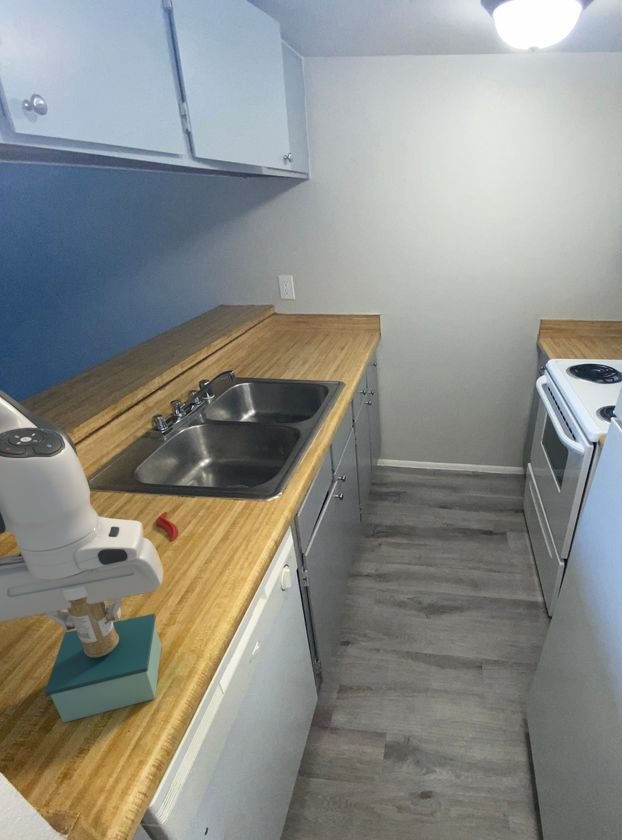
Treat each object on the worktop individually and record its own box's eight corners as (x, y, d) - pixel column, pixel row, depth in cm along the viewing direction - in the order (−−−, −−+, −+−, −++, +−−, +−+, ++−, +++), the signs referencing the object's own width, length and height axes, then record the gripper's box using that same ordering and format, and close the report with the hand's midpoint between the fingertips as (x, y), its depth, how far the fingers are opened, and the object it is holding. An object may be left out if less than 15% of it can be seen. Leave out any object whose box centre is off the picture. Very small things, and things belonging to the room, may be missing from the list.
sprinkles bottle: (125, 643, 71) (102, 576, 65) (93, 664, 68) (65, 595, 61) (110, 628, 73) (86, 562, 67) (78, 648, 70) (50, 580, 64)
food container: (60, 725, 68) (44, 692, 64) (78, 664, 77) (65, 632, 73) (157, 700, 72) (146, 667, 68) (163, 644, 81) (154, 613, 77)
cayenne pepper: (156, 514, 113) (155, 508, 112) (177, 510, 114) (176, 504, 113) (155, 545, 103) (153, 538, 102) (178, 540, 105) (176, 533, 104)
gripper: (-44, 579, 56) (-2, 658, 62) (148, 547, 62) (168, 621, 69) (-21, 546, 61) (15, 622, 67) (153, 519, 67) (171, 591, 74)
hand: (93, 621), depth 68 cm, fingers closed on sprinkles bottle, 4 cm apart
